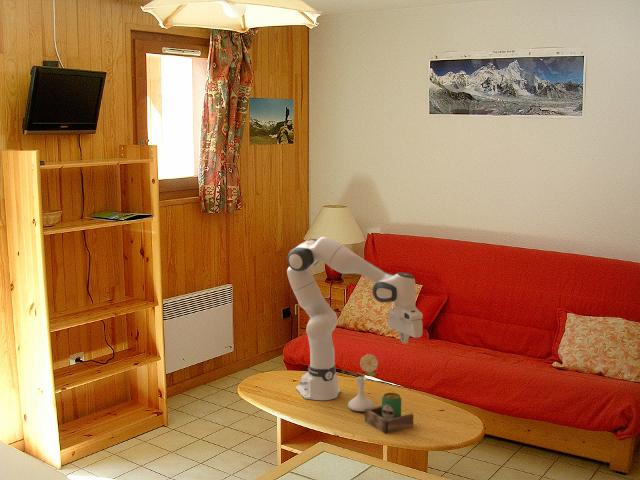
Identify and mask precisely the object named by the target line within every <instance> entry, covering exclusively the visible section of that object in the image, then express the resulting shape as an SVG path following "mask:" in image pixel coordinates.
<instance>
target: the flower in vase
mask: <svg viewBox="0 0 640 480" xmlns="http://www.w3.org/2000/svg"><path fill="white" fill-rule="evenodd" d="M378 364H379V361H378V360H377V357H376V356H375V355H374V354H371V353H367V354H365V355H363V356H362V357H361V359H360V361H359V366H360V368H362V371H364V374H362V373H360V372H357V371H355V373H356V374H358V375H361V376H357V377H355V378H354V379H355V380H356V382H357V387H358V389H357V390H358V391H357V392H358V393H357V394H356V396H355V397H353V398H352V399H350V400H349V401H348V404H347V407H348V408H349V409H350V410H352V411H354V412H355V411H356V412H365V409H369V408H374V407H375V403H374V402H373V401H372V400H371V399H370V398H368V397H367V395H365V393H364V387H365V383H366V381H367V379H368V378H367V377H365V375H366V374H367V375H368V376H369V377H373V376H376V375H377V373H376V372H375V370H377V369H378Z"/></svg>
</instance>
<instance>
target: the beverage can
mask: <svg viewBox="0 0 640 480" xmlns="http://www.w3.org/2000/svg"><path fill="white" fill-rule="evenodd" d="M381 406H382V418H384V419H386V420H388V419H392V418H396V417H400V416H402V398H401V395H400V394H399V393H396V392H387V393H384V394H383V396H382V397H381Z"/></svg>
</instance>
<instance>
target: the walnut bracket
mask: <svg viewBox="0 0 640 480" xmlns="http://www.w3.org/2000/svg"><path fill="white" fill-rule="evenodd" d="M364 422H366V423H368V424H369V425H371V426H372V427H374V428H375V429H377V430H378V431H380V432H381V433H383V434H390V433H393V432H397V431H400V430H405V429H410V428H413V427H414V414H413V413H409V414H405V415H401V416H400V417H396V418H392V419H388V420H386V419H384V418H382V405H378V406H374V407H373V408H369V409H365V411H364Z"/></svg>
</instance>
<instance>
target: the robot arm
mask: <svg viewBox="0 0 640 480" xmlns="http://www.w3.org/2000/svg"><path fill="white" fill-rule="evenodd" d="M286 261H287V265H288V268H287V269H286V273H287V274H286V275H287V278H288V282H289V285H290V287H291V289H292V291H293V294H294V296H295V298H296V300H297V302H298V305H299V306H300V308H301V309H303V310H304V311H305V312H306V314H307V315H308V317H309V320H308V321H307V324H306V329H305V333H306V335H307V338H308V344H309V354H310V355H309V356H310V357H309V359H310V361H309V363H310V364H309V363H308V364H307V365H308V366H307V367H308V371H307V372H306V373H305V374H303V375H302V376H301V377H300V381H299V383H300V384H298V385H296V386H295V390H296V389H297V390H298V391H299V392H300V393H299V392H298V391H297V390H296V391H297V392H298V393H299V394H300V395H301V397H302V396H303V397H304V398H305V399H304V398H303V397H302V398H303V399H304V400H315V401H330V400H333V399H337V398H338V397H339V394H340V393H341V389H340V388H339V382H338V380H339V379H338V378H339V377H338V375H337V374H336V371H337V370H336V369H337V367H336V363H335V354H336V353H335V346H334V343H333V337H332V336H333V331H334V330H335V329H336V327H337V324H338V315H337V312H336V311H334V310H333V309H332V308H331V306H330V304H329V303H328V302H327V300H326V299H325V297H324V296H323V294H322V291H321V289H320V287H319V285H318V283H317V281H316V279H315V276H314V275H313V272H312V268H313V266H317V264H318V263H319V262H321V263H324V264H325V265H327V267H329V268H330V269H332V270H333V271H336V272H337V273H339V274H341V275H342V274H343V275H348V274H350V275H351V274H357V275H361V276H364V277H365V278H366V279H369V280H370V281H371V282H374V285H373V287H372V289H371V290H372V291H371V292H372V295H373V298H374V299H375V300H376V301H378V302H379V303H391V302H393V303H394V304H393V305H394V306H392V307H390V309H389V313H388V319H387V326H388V328H389V329H392V330H394V331H397V332H398V335H399V338H400V342H401V343H403V344H409V343H408V342H409V338H410V337H412V338H414V339H416V338H421V337H422V336H423V330H424V329H423V328H424V327H423V325H424V324H423V320H422V319H423V316H424V314H423V312H421V311H420V310H419V309H418V308H417V306H416V300H415V297H416V291H417V290H416V286H417V285H416V281H415V277H414V276H413V274H411V273H408V272H403V271H402V272H401V271H400V272H397V273H395V274H394V273H389V272H387V271H385V270H383V269H381V268H379V267H378V266H376V265H375V264H373V263H372V262H369V261H368V260H366V259H365V258H363V257H361V256H359V255H358V254H356V253H355V252H353V251H352V250H351V249H349V248H348V247H347V246H345V245H343V244H342V243H340V242H339V241H337V240H336V239H333V238H331V237H329V236H326V235H324V236H320V237H319V238H310V239H307V240H306V241H304V242H301V243H299V244H298V245H297V246H296V247H294V248H292V249H291V250H290V251H289V252H288V253H287V258H286Z"/></svg>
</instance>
